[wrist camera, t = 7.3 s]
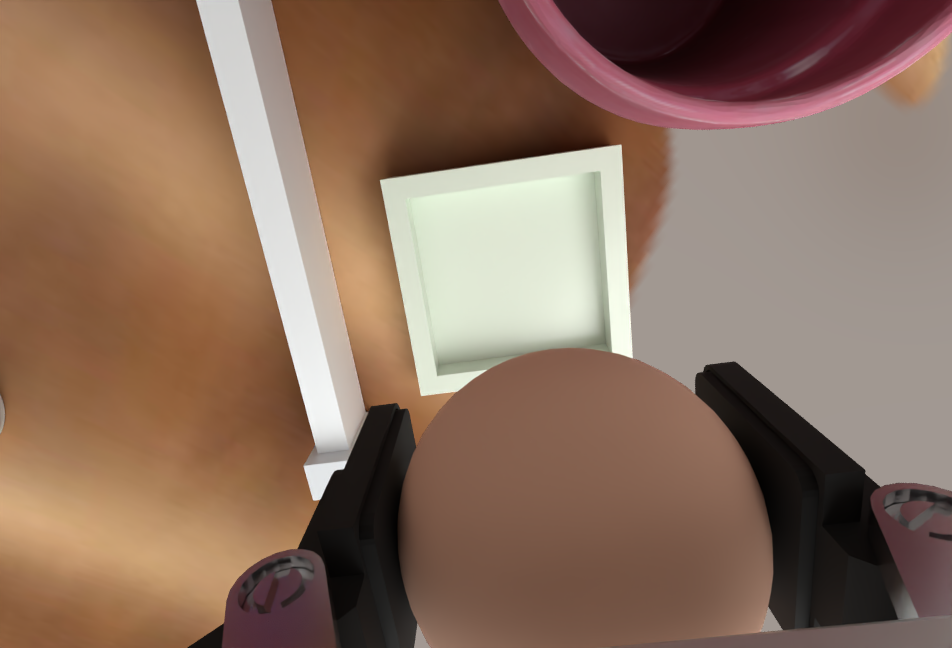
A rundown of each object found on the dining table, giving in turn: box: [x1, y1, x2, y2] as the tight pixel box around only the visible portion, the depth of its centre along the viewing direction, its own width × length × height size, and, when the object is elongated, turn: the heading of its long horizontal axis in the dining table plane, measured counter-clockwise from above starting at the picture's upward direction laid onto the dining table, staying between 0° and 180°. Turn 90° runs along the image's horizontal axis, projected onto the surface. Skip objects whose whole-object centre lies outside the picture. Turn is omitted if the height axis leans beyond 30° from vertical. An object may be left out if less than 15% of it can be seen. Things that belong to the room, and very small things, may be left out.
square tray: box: [380, 145, 632, 396], centre depth 27 cm, size 11×11×2 cm
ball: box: [397, 348, 773, 648], centre depth 9 cm, size 6×6×6 cm
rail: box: [196, 0, 368, 500], centre depth 24 cm, size 26×2×5 cm, turn 8°
